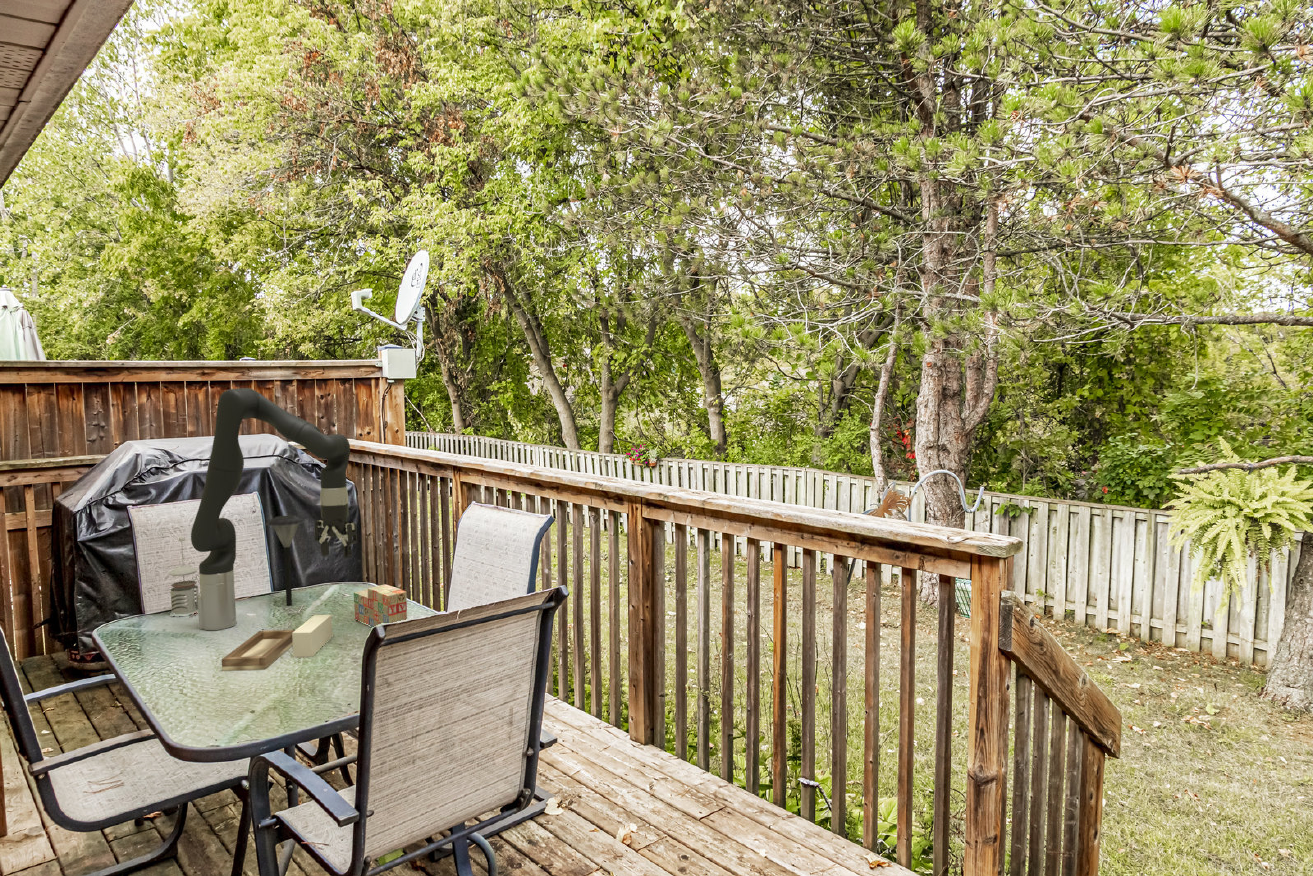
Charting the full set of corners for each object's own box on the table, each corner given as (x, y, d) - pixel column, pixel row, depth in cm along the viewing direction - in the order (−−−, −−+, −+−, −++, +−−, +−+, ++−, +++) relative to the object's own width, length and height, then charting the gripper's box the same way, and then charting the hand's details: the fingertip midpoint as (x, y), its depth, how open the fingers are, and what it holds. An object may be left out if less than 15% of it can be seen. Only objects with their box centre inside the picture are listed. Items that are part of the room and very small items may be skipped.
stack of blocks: (354, 621, 248) (352, 582, 247) (373, 616, 252) (371, 578, 251) (388, 636, 233) (387, 595, 232) (408, 630, 238) (406, 590, 237)
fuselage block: (293, 657, 216) (292, 633, 215) (315, 638, 232) (314, 615, 231) (311, 657, 216) (310, 632, 215) (332, 638, 232) (331, 614, 231)
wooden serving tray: (222, 670, 206) (221, 659, 206) (259, 641, 229) (259, 631, 229) (265, 669, 207) (265, 658, 207) (298, 639, 230) (298, 629, 230)
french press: (183, 607, 263) (179, 533, 261) (214, 608, 261) (211, 534, 259) (160, 616, 253) (156, 540, 251) (193, 617, 251) (189, 540, 249)
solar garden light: (314, 599, 271) (311, 513, 269) (300, 610, 259) (296, 520, 257) (278, 600, 271) (274, 514, 268) (262, 611, 258) (258, 520, 256)
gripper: (306, 502, 230) (308, 557, 232) (343, 505, 225) (345, 561, 226) (326, 499, 237) (328, 552, 239) (362, 501, 232) (364, 556, 233)
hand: (336, 556), depth 232 cm, fingers open, 8 cm apart
